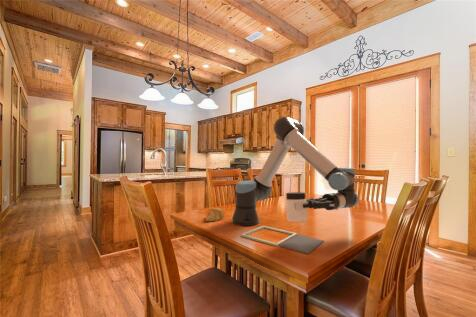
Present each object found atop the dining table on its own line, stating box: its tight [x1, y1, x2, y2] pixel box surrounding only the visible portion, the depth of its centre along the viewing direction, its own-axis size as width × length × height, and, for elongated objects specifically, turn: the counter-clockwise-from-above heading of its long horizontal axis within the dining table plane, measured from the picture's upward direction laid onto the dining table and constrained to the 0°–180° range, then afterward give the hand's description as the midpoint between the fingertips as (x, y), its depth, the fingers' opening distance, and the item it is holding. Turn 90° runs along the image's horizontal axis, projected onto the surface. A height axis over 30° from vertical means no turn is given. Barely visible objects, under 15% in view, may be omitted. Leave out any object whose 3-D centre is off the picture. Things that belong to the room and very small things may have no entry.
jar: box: [285, 191, 308, 223], centre depth 101 cm, size 9×8×12 cm
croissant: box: [205, 206, 226, 222], centre depth 139 cm, size 21×10×8 cm, turn 159°
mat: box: [279, 234, 325, 255], centre depth 97 cm, size 12×18×1 cm, turn 141°
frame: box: [240, 225, 298, 248], centre depth 108 cm, size 19×19×1 cm
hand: (295, 206), depth 95 cm, fingers closed on jar
